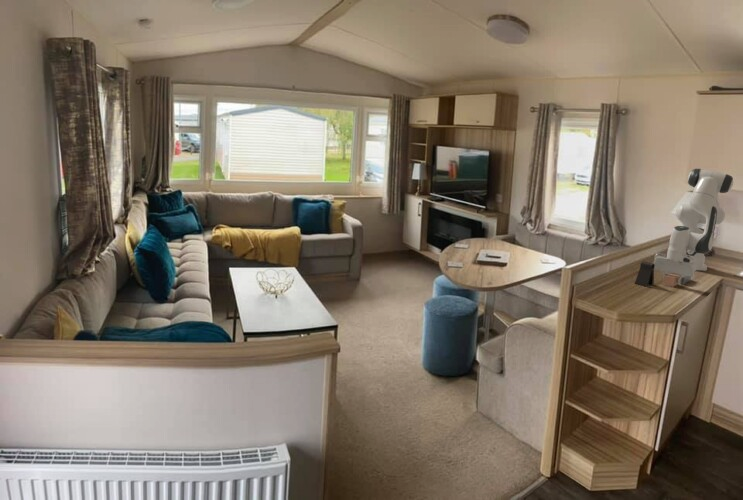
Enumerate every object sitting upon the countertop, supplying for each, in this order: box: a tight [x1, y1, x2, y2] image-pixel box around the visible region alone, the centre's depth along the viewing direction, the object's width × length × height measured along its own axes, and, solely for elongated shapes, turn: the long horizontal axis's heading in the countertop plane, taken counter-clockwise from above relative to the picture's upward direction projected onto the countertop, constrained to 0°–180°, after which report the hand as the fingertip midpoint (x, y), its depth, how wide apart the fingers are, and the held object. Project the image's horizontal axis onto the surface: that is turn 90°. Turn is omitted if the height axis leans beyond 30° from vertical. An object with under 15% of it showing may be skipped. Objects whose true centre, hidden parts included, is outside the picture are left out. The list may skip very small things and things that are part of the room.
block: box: [662, 274, 680, 288], centre depth 302 cm, size 8×5×5 cm, turn 135°
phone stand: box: [634, 260, 655, 287], centre depth 299 cm, size 9×6×12 cm, turn 127°
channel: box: [665, 272, 692, 285], centre depth 313 cm, size 16×10×4 cm, turn 138°
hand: (671, 281), depth 303 cm, fingers closed on block, 5 cm apart
